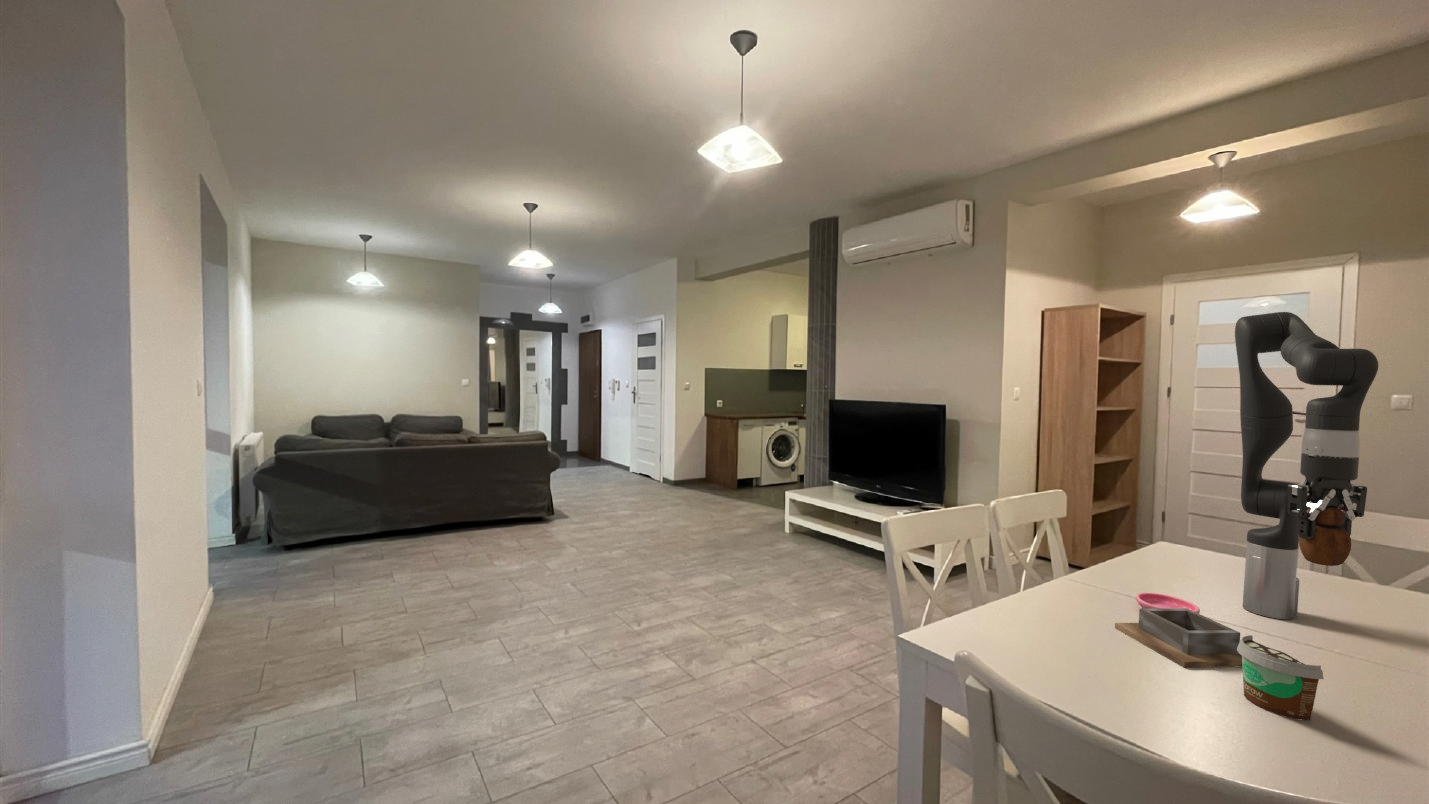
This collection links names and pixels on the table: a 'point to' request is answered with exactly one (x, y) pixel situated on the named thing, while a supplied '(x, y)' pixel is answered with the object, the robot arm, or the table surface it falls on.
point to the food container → (1278, 680)
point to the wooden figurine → (1327, 539)
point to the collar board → (1185, 637)
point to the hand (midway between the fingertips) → (1323, 538)
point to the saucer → (1163, 602)
